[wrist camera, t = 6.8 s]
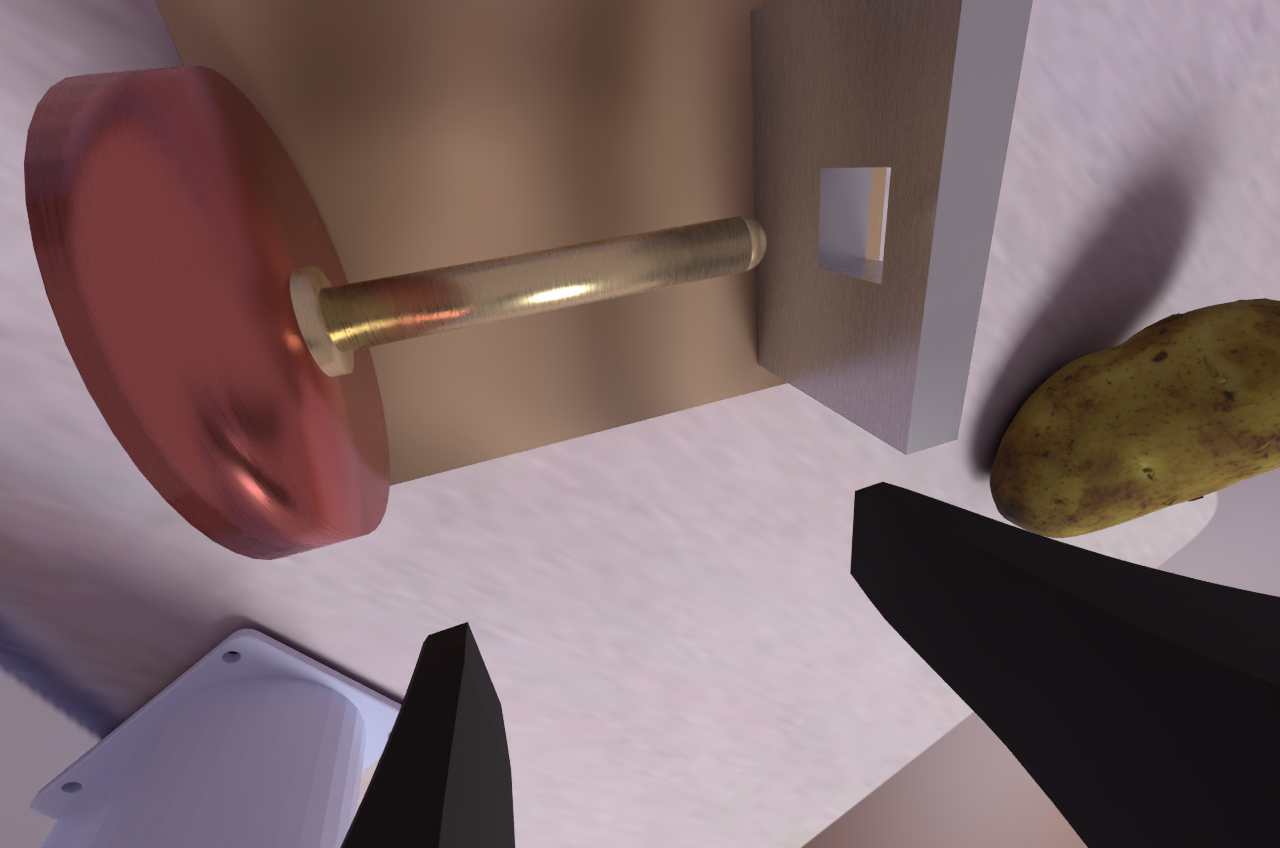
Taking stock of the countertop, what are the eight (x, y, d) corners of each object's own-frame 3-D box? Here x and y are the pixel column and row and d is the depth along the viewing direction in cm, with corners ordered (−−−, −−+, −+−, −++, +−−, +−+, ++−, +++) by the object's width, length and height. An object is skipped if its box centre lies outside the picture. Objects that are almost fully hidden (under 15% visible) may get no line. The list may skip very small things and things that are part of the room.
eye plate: (799, 6, 15) (1051, -111, 8) (795, 355, 19) (957, 439, 13) (750, 10, 14) (975, -109, 8) (757, 364, 19) (906, 454, 13)
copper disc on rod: (680, 60, 14) (919, -54, 7) (701, 355, 17) (871, 476, 10) (191, 108, 11) (-214, 5, 4) (336, 441, 15) (241, 674, 8)
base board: (867, -29, 16) (903, -46, 15) (845, 350, 22) (870, 361, 20) (185, 14, 12) (154, -5, 11) (371, 468, 17) (365, 492, 16)
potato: (948, 398, 25) (1144, 486, 18) (1170, 252, 25) (1441, 282, 18) (971, 517, 29) (1137, 626, 22) (1161, 389, 29) (1379, 455, 23)
